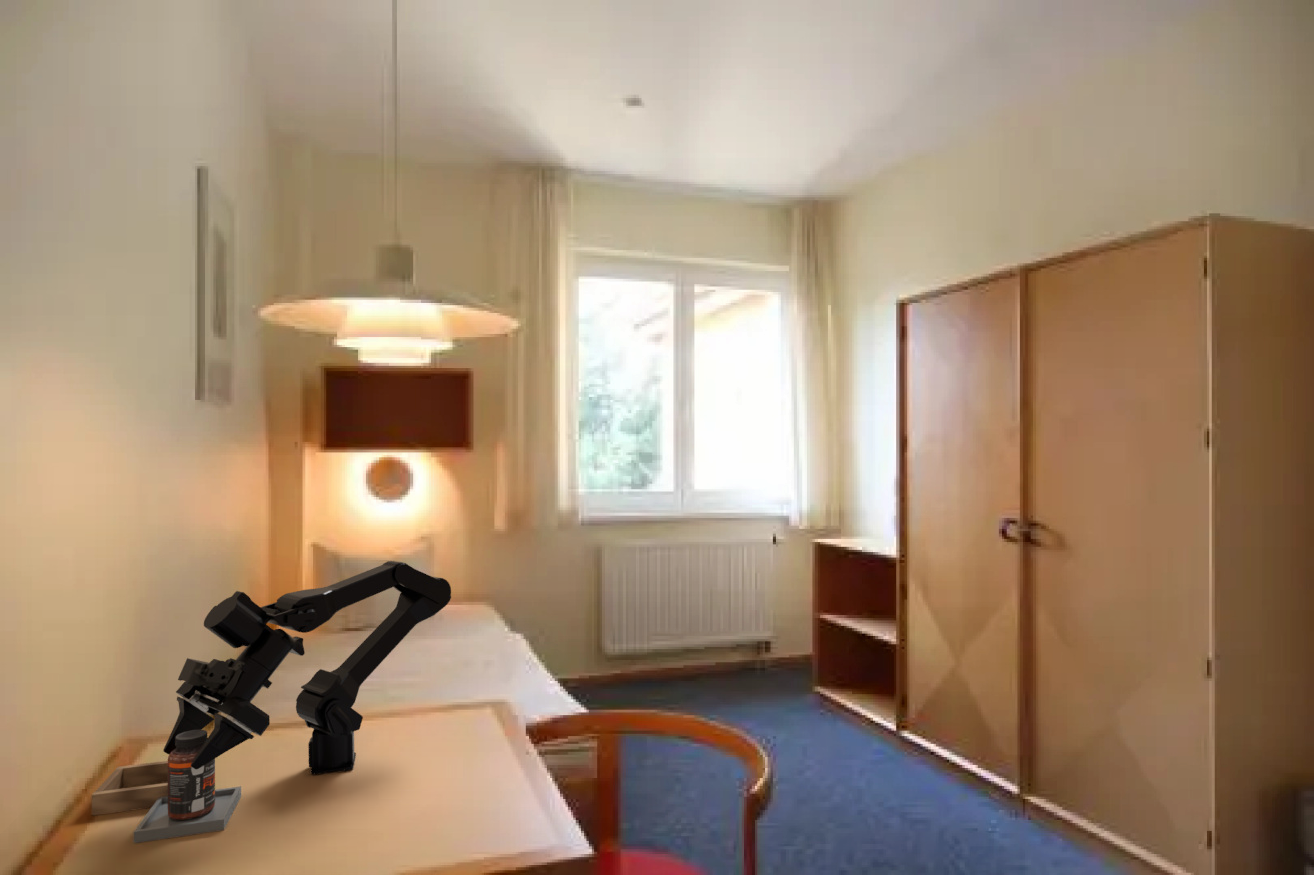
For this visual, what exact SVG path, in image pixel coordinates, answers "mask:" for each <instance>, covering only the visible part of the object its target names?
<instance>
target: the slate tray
mask: <svg viewBox="0 0 1314 875" xmlns="http://www.w3.org/2000/svg"><path fill="white" fill-rule="evenodd" d="M241 797H242V786H241V785H240V786H233V787H226V788H217V789H215V806H214V808H213V809H212V810H211V811H209V812H208V813H206V814H204V815H202V816H200V817H197V818H193V819H187V820H174V819H172V818H170V817H169V816H168V796H164V797H159V798H158V800H157V801H156V802H155V804H154V805H153V806H152V808H150V809H149V810H148V812H147V813H146V815H145V816H144V817H143V819H142V820H141V821H140V822H139V823H138V826H136V828H135V829H134V830H133V834H132V835H133V844H136V843H137V844H138V843H145V842H152V841H159V840H164V839H171V837H172V838H177V837H178V838H179V837H185V836H192V835H199V834H207V833H213V832H219V831H224V830H225V829H226V827H227V825H228V823H229V821H230V819H231V817H232V815H233V812H234V811H235V809H236V807H237V805H238V803H239V801H240V799H241ZM206 832H207V833H206Z"/></svg>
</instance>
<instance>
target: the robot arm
mask: <svg viewBox="0 0 1314 875" xmlns="http://www.w3.org/2000/svg"><path fill="white" fill-rule="evenodd" d="M392 588H394V590H396V591H398V592H399V596H398V601H397V604H396V606H395V608H394V609H393V610H392V611H391V612H390V613H389V614H388V615H387V617H386V618H384V620H383V621H382V622H380V624H378V626H377V627H376V628H375V629H374V630H373V631H372V632H371V633H370V634H369V635H368V637H366V638H365V639H364V640H363V641H362V643H360V644H359V646H357V647H356V649H355V650H354V651H353V652H352V653H351V654H350V655H349V656H348V657H347V658H346V659H345V660H344V661H343V662H342V664H340V665H339V666H338V667H337V668H336V669H333V670H331V671H328V670H325V669H321V668H320V669H319V670H317V671H316V672H315V674H313V676H312V677H311V679H309V681H308V682H306V683H305V684H303V685H301V687H300V688H301V689H302V690H301V692H300V693H299V694H298V695H297V697H296V699H295V702H296V703H295V709H296V710H295V711H296V714H297V716H298V717H299V718H301V719H302V720H303V721H304V723H305V726H307V728H309V729H313V731H312V733H311V737H310V738H309V742H308V743H307V744H308V745H307V746H308V767H309V768H311V769H310V775H314V776H315V775H319V774H328V773H335V772H344V771H350V770H353V769H354V766H355V762H356V757H357V753H356V752H355V732H357V731H359V730H360V729H361V725H362V721H363V719H364V717H363V715H361V713H359V712H358V711H356V710H355V709H353V708H352V707H353V706H354V704H355V703H356V700H357V696H358V693H359V690H360V687H361V686H362V684H363V683H364V682H365V681H366V680H367V679H368V678H369V677H370V676H371V674H372V673H373V672H374V671H375V670H376V669H377V668H378V667H379V666H380V664H382V662H384V660H385V659H386V658H387V657H388V656H389V655H390V654H391V653H392V652H393V651H394V649H395V648H396V647H398V645H399V644H400V643H401V642H402V641H403V640H404V639H405V638H406V636H407V635H408V634H409V633H410V632H411V631H412V630H413V629H414V627H416V626H417V625H418V624H420V623H421V622H424V621H425V620H429V619H430V618H432V617H434V616H435V615H436V614H438V613H439V612H441V610H443V609H444V608H445V607H447V605H448V604H449V603H450V602H451V599H452V588H451V584H450V583H449V581H448V580H447V579H445V578H443V577H437V576H432V575H429V574H427V573H424V572H423V571H420V570H418V569H416V568H414V567H413V566H411V565H410V564H408V563H406V562H402V561H395V560H388V561H386V562H384V563H383V564H381V565H379V566H376V567H374V568H370V569H369V570H366V571H364V572H361V573H359V574H355V575H353V576H351V577H348V578H345V579H343V580H340V581H338V582H335V583H333V584H331V585H328V586H323V587H318V588H317V587H316V588H310V589H301V590H298V591H293V592H287V593H285V594H283V595H281V596H279V597H278V598H277V599H276V602H273V603H270V604H266V605H263V606H259V605H258V604H257V603H256V602H254V601H253V600H252V599H251V598H250V596H249V595H247V593H245V592H244V591H239V590H236V591H235V592H234V593H233V594H232V595H231V596H230V597H227V598H225V599H224V600H222V601H220V602H219V603H218V604H217V605H214V606H213V607H212V608H211V609H210V610H209V612H208V613H207V615H206V616H205V618H204V619H203V620H204V621H203V627H204V628H206V630H208V631H210V632H211V633H212V634H214V635H215V636H216V637H218V638H219V639H221V640H222V641H223V642H224V643H226V644H227V645H229V646H230V647H231V648H233V649H238V648H241V647H245V648H244V649H243V650H242V652H241V653H240V654H239V655H238V656H237V657H236V659H234V658H231V657H230V658H229V659H226V660H225V661H224V660H220V659H216V658H212V660H210V662H209V661H203V660H197V659H193V658H189V657H187V658H186V660H185V661H184V664H183V666H182V668H181V671H180V673H179V676H178V678H177V680H178V681H180V682H181V681H182V682H183V681H184V682H183V683H182V684H181V685H180V687H179V688H178V689H177V690H176V691H175V693H176V694H177V697H176V702H178V709H179V714H178V716H177V719H176V721H175V724H174V726H173V727H172V730H171V732H170V735H169V737H168V739H167V741H166V743H165V746H164V747H163V752H164V753H165V754H166V755H169V754H170V753H171V752H172V751H173V750H175V749H176V748H177V747H176V746H175V738H176V736H177V735H179V734H181V733H183V732H187V731H191V730H204V728H206V726H208V725H209V724H210V723H212V722H214V727H213V729H212V731H211V732H210V734H209V735H208V736H207V737H208V738H207V740H206V741H205V743H204V744H203V746H202V747H201V749H200V750H199V752H198V753H197V755H196V757H195V758H194V760H193V762H192V763H191V767H193V768H194V769H199V768H200V767H202V766H204V765H205V764H207V763H209V762H210V761H212V760H213V759H215V760H216V759H217V758H218V757H220V756H221V755H223V754H225V753H227V752H228V751H229V750H232V749H233V748H235V747H237V746H239V745H240V744H241V745H242V743H244V742H246V741H247V740H252V739H254V738H255V736H254V735H253V734H255V735H257V736H260V737H262V736H263V734H264V733H265V731H266V730H267V729H268V728H269V726H270V715H269V714H267V712H265V711H264V710H263V709H260V708H259V707H258V706H256V705H255V704H253V703H252V701H253V700H254V699H255V697H256V696H257V695H258V693H259V692H260V690H262V688H265V689H269V688H270V687H271V686H272V684H273V682H272V681H271V680H270V678H271V677H272V676H273V674H274V673H275V671H276V670H277V669H278V668H279V667H280V665H281V664H282V663H283V661H284V660H285V658H287V656H288V655H289V653H290V654H294V655H297V656H300V657H302V656H304V655H305V648H304V638H303V637H299V636H296V635H295V636H291V635H290V634H289V633H288V632H286V631H285V629H286V630H290V631H295V632H298V633H303V634H305V633H310V632H312V631H314V630H316V629H318V628H319V627H321V626H323V625H324V624H326V623H327V622H328V621H330V620H331V619H332V618H333V617H334V615H336V613H337V612H339V611H341V610H342V609H345V608H346V607H349V606H352V605H355V604H356V603H359V602H361V601H363V600H366V599H367V598H371V597H373V596H376V595H378V594H379V593H382V592H385V591H387V590H389V589H392ZM268 624H272V625H276V626H278V627H280V628H276V629H273V628H272V627H270V626H269V625H268ZM178 695H179V696H178ZM220 713H222V714H224V715H226V716H224V715H222V714H220ZM211 715H212V716H214V717H212V716H211Z"/></svg>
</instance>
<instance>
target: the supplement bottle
mask: <svg viewBox="0 0 1314 875" xmlns="http://www.w3.org/2000/svg"><path fill="white" fill-rule="evenodd" d="M208 737H209V736H208V731H207V730H206V729H202V730H191V731H187V732H183V733H181V734H179V735H177V736H176V738H175V746H176V747H177V748H176V749H175V750H173V751H172V752H171V753H170V754H168V757H167V761H168V782H167V783H168V816H169V817H170V818H172V819H174V820H187V819H193V818H197V817H200V816H202V815H204V814H206V813H208V812H209V811H211V810H212V809H213V808H214V806H215V790H216V758H215V759H213V760H212V761H210V762H209V763H207V764H205V765H204V766H202V767H200V768H199V769H194V768H193V767H191V763H192V762H193V760H194V758H195V757H196V755H197V753H198V752H199V750H200V749H201V747H202V746H203V744H204V743H205V741H206V740H207V738H208Z"/></svg>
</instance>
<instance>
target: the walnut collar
mask: <svg viewBox="0 0 1314 875" xmlns="http://www.w3.org/2000/svg"><path fill="white" fill-rule="evenodd" d="M128 786H130V787H128ZM164 796H168V760H162V761H154V762H148V763H147V762H146V763H138V764H129V765H123V766H122V765H121V766H117V767H116V768H115V770H114V771H113V772H112V773H111V774H110V775H109V776H108V777H107V778H106V779H105V780H104V781H103V782H102V783H101V785H99V787H98V788H97V789H96V790H95V791H94V792H92V794H91V816H92V815H93V816H100V815H107V814H113V813H121V812H128V811H136V810H137V811H138V810H143V809H149V808H150V809H151V808H152V806H153V805H154V804H155V802H156V801H157V800H158V798H159V797H164Z"/></svg>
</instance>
